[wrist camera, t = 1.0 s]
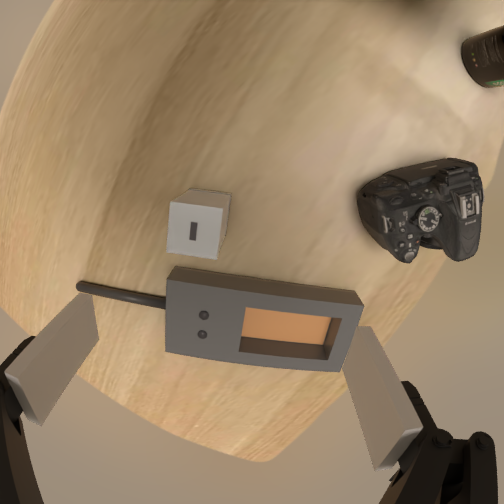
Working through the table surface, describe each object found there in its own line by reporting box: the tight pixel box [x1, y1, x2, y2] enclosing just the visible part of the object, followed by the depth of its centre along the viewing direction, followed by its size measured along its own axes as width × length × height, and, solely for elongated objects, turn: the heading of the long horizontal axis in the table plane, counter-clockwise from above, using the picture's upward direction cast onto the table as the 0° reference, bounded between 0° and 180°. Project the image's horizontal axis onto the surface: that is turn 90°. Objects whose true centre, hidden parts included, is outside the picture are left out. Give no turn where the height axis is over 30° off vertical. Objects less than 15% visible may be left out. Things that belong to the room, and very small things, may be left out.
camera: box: [357, 158, 484, 263], centre depth 25 cm, size 13×10×10 cm
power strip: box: [76, 266, 364, 372], centre depth 32 cm, size 33×9×4 cm, turn 81°
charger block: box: [166, 188, 231, 260], centre depth 26 cm, size 4×4×8 cm
